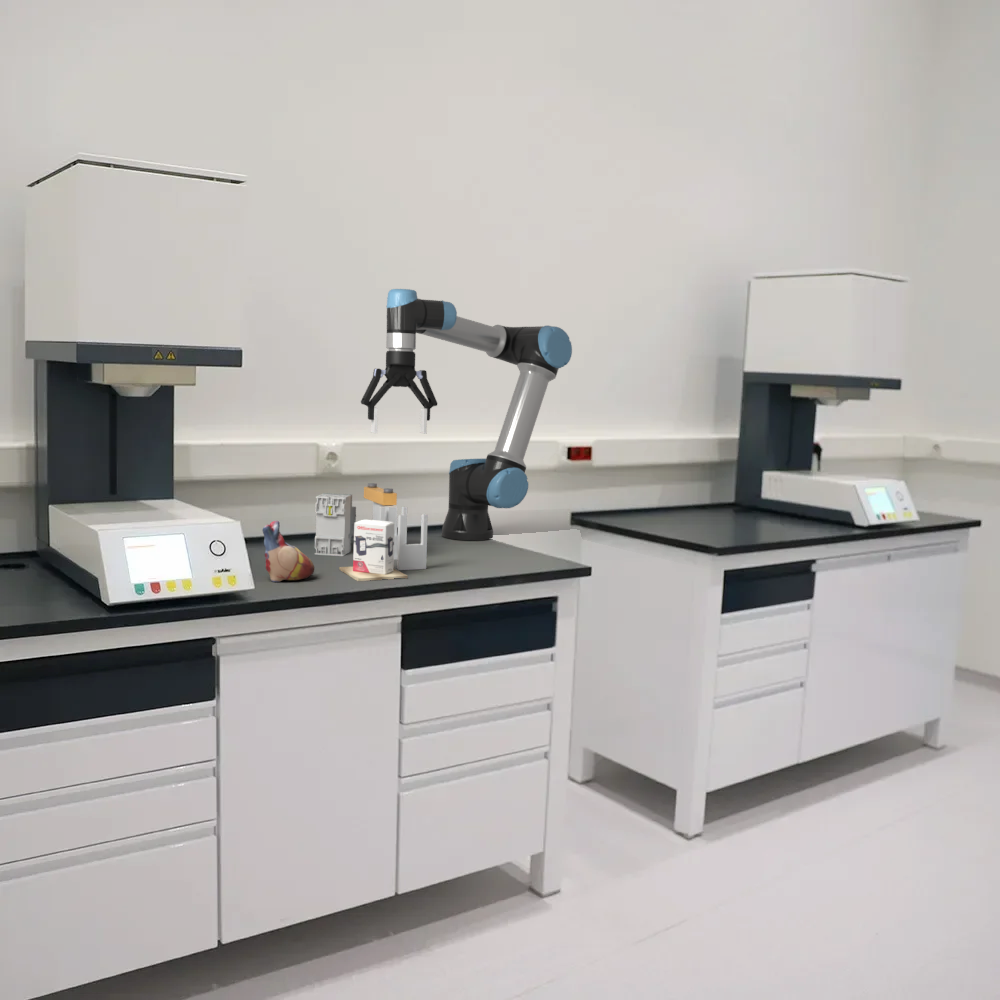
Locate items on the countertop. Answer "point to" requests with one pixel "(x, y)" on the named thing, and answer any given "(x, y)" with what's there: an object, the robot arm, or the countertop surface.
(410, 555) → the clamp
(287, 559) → the anatomical model
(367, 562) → the ink box
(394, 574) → the birch pad
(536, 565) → the countertop surface
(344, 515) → the circuit breaker
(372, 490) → the bar
